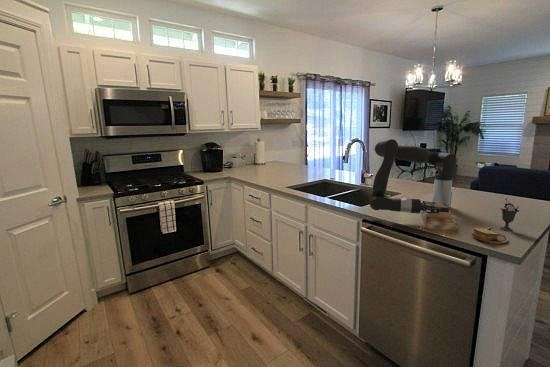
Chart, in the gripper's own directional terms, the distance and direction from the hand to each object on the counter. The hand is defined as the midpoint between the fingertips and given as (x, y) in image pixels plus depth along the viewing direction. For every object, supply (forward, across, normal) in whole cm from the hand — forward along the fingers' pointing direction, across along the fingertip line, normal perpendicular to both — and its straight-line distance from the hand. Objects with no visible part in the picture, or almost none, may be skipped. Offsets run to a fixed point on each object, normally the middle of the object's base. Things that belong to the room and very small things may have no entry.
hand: (447, 208), depth 135 cm
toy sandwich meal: (+14, -13, +10) cm, 21 cm away
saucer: (-3, 0, +3) cm, 5 cm away
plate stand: (-3, +11, +9) cm, 15 cm away
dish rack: (-3, 0, +9) cm, 10 cm away
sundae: (+26, +2, +9) cm, 27 cm away
